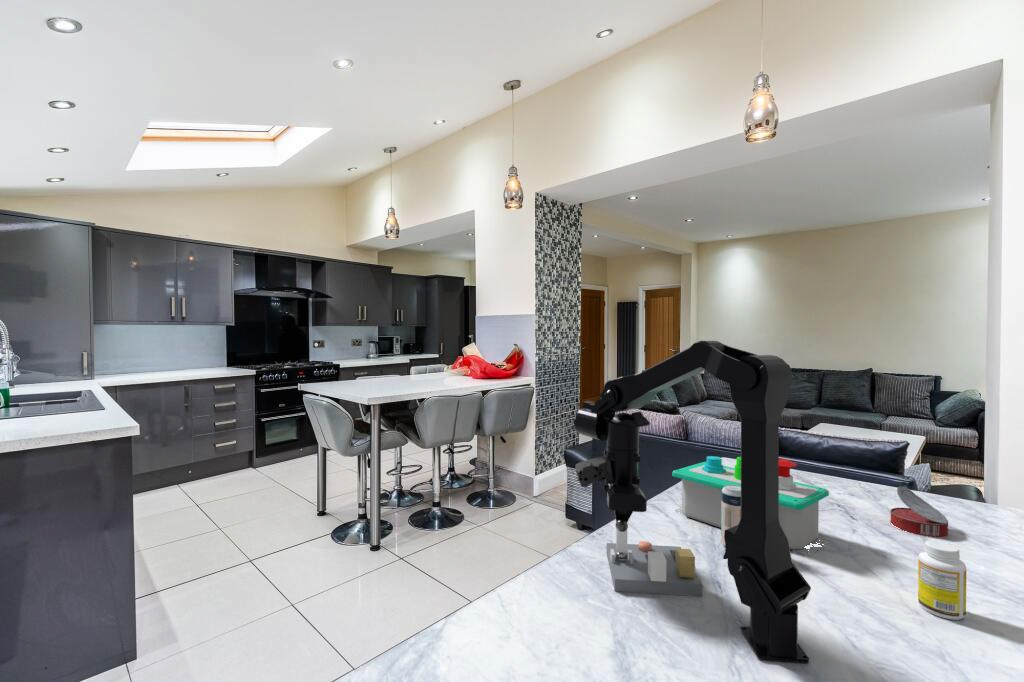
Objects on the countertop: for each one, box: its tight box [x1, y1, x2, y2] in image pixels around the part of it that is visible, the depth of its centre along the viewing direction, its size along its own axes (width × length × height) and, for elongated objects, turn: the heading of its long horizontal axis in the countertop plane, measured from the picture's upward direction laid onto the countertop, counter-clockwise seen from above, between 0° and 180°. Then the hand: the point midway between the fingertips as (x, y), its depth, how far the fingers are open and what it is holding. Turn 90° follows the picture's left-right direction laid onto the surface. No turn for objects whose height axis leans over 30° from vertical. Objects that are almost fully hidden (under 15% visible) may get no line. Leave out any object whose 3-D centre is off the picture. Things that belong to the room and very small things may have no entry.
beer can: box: [720, 485, 741, 547], centre depth 96 cm, size 5×5×12 cm
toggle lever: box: [615, 519, 629, 560], centre depth 86 cm, size 2×2×7 cm
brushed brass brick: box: [675, 548, 696, 578], centre depth 81 cm, size 3×2×4 cm
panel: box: [606, 540, 703, 597], centre depth 85 cm, size 14×14×3 cm
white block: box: [648, 551, 666, 582], centre depth 79 cm, size 3×2×4 cm
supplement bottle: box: [917, 540, 967, 621], centre depth 74 cm, size 6×6×10 cm
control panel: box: [671, 455, 830, 556], centre depth 107 cm, size 15×16×30 cm
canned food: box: [890, 485, 949, 538], centre depth 107 cm, size 11×10×10 cm
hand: (620, 529), depth 88 cm, fingers closed
